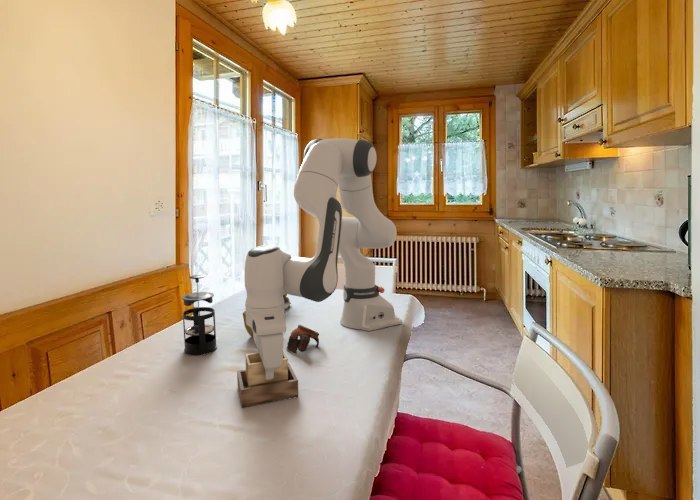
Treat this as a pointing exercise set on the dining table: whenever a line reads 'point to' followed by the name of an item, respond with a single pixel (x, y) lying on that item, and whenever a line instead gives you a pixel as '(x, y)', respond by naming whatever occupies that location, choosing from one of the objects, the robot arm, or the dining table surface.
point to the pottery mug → (301, 339)
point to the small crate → (263, 371)
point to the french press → (199, 323)
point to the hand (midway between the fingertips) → (266, 370)
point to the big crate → (266, 390)
